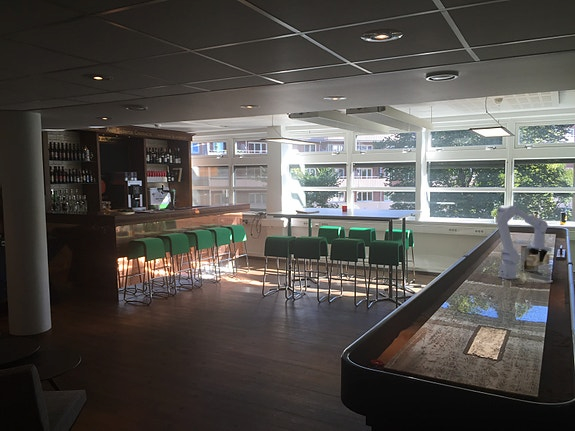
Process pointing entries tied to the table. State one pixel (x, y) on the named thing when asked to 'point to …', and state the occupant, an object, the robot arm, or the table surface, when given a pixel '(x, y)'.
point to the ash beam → (537, 260)
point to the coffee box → (523, 263)
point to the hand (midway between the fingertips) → (538, 261)
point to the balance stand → (540, 278)
